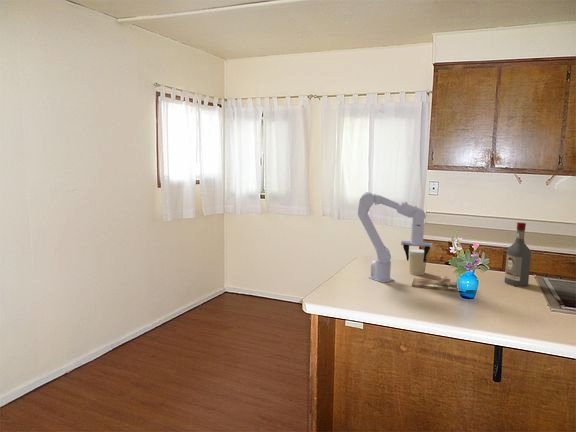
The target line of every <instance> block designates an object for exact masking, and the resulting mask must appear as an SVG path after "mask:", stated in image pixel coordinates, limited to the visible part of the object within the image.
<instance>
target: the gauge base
mask: <svg viewBox="0 0 576 432" xmlns="http://www.w3.org/2000/svg"><path fill="white" fill-rule="evenodd" d="M457 283H458V282H454V281H450V286H447V285H446V286H445V285H441V280H435V279H434V280H433V279H427V278H417V277H414V278H413V280H412V282H411V287H412V288H413V287H414V288H423V289H429V290H430V289H431V290H440V291H447V292H457V293H459V292H458V288H457Z"/></svg>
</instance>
